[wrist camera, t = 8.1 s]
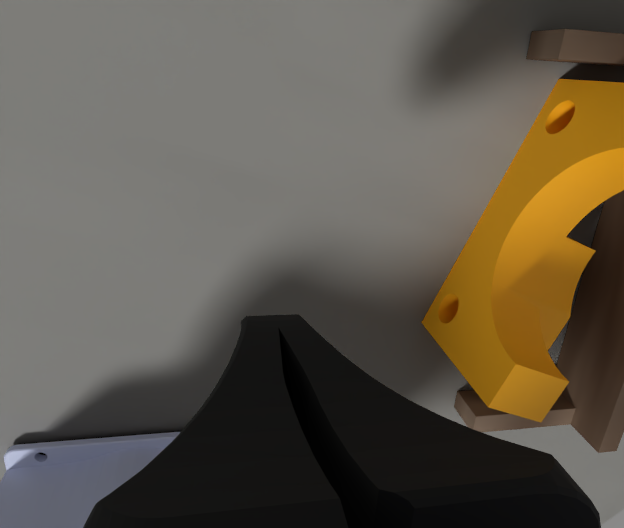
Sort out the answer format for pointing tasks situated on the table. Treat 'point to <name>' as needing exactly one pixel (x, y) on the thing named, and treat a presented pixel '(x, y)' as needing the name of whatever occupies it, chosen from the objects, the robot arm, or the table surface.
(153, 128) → the table surface
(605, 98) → the pipe clamp
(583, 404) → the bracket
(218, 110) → the table surface
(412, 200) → the table surface
